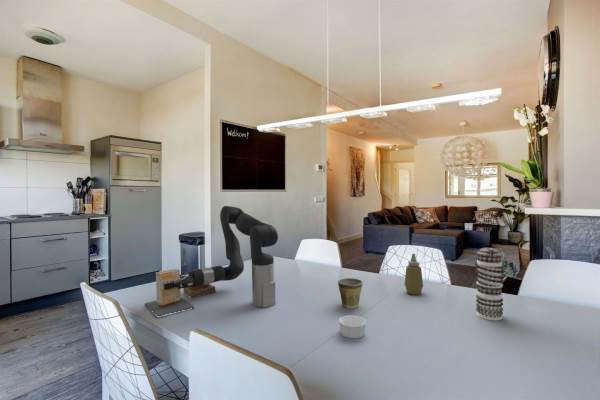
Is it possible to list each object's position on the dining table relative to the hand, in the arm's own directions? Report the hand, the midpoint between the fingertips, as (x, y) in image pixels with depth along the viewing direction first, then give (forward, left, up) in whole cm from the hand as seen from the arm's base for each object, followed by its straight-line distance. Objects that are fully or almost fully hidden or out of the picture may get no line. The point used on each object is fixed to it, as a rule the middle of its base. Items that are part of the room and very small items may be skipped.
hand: (162, 285), depth 125 cm
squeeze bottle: (-61, -91, -10) cm, 110 cm away
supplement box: (0, -3, -8) cm, 8 cm away
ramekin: (-67, -40, -10) cm, 78 cm away
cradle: (+9, -19, -10) cm, 23 cm away
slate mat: (0, -2, -10) cm, 10 cm away
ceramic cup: (-50, -59, -10) cm, 78 cm away
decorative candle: (-93, -87, -10) cm, 128 cm away
